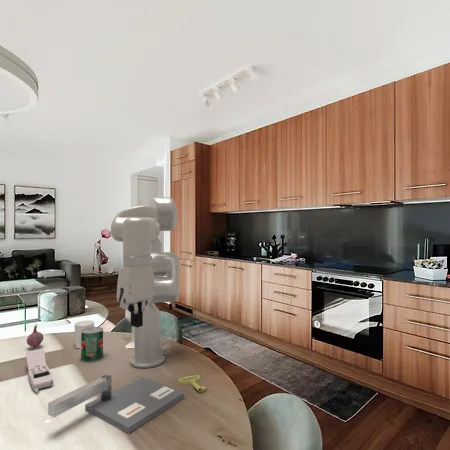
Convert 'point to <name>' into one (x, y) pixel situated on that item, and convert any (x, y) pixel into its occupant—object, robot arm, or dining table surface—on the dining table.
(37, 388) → the mobile phone
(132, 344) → the champagne flute
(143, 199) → the robot arm
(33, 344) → the vegetable
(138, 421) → the label panel
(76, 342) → the white cup
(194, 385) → the key
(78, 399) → the swing arm
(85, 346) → the canned tomato
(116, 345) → the dining table surface
